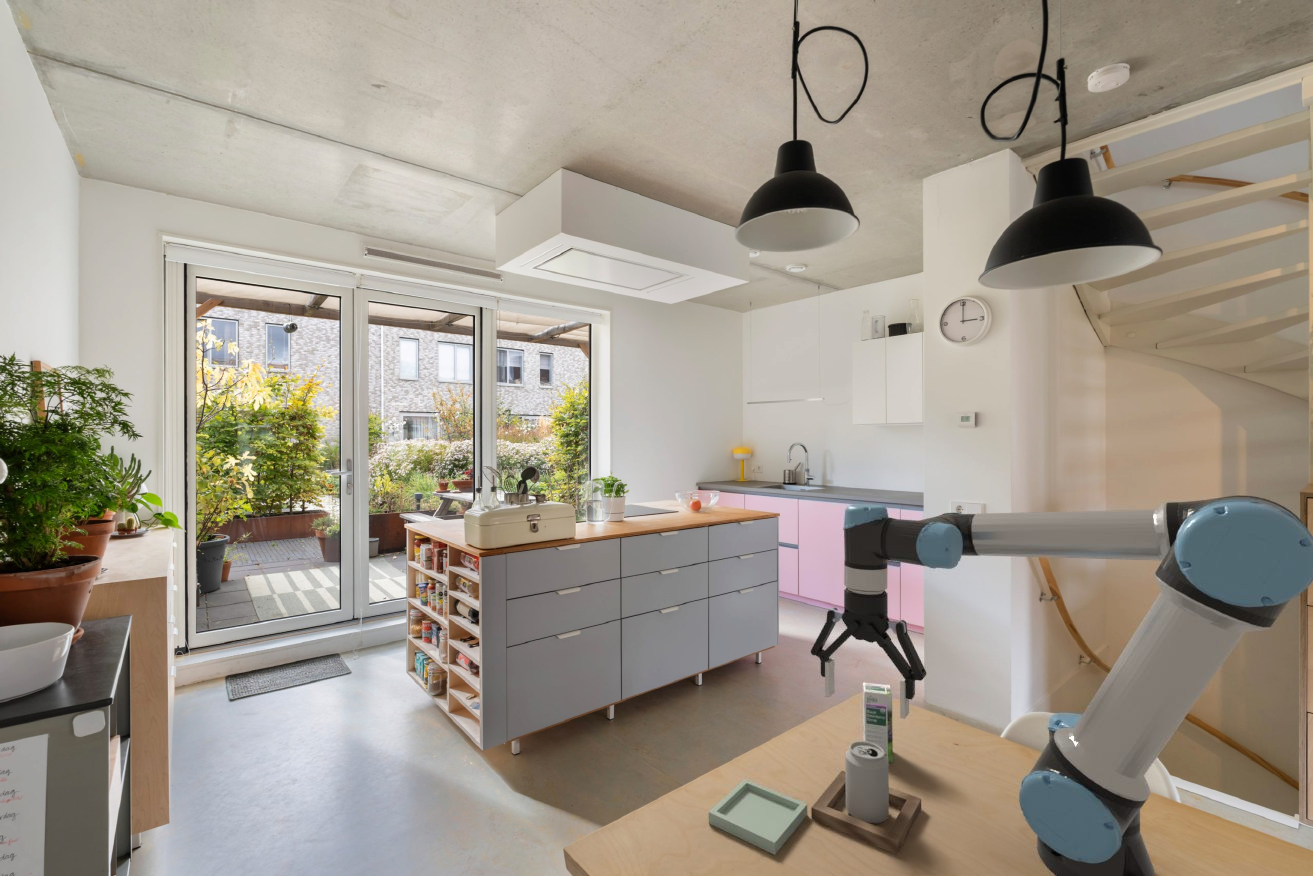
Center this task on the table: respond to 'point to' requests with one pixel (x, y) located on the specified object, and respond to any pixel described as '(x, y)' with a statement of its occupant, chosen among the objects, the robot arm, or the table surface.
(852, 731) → the table surface
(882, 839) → the holder
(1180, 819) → the table surface
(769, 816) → the tray
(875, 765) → the can
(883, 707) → the syrup box
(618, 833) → the table surface
